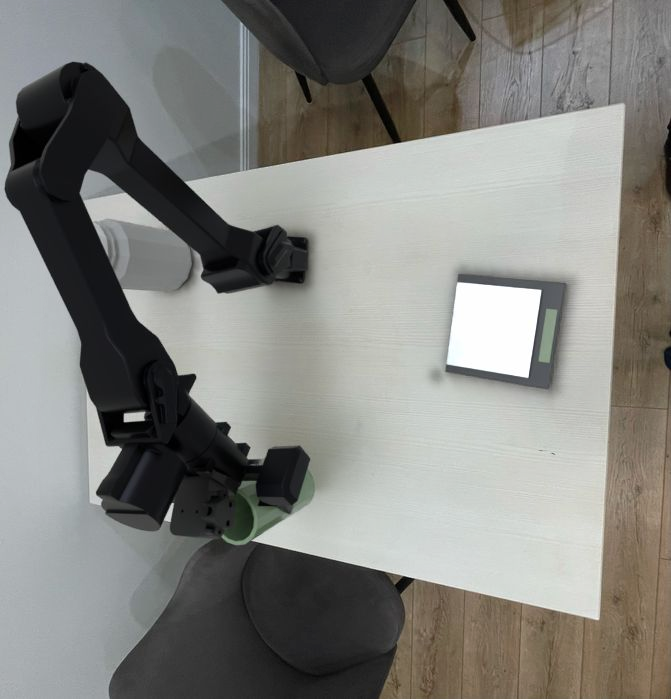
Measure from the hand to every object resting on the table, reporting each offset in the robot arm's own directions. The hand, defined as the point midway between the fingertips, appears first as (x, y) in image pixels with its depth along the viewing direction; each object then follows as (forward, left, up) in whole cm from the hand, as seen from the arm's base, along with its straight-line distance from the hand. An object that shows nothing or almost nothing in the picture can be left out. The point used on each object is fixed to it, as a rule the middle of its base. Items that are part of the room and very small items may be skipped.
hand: (266, 509), depth 67 cm
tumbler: (0, +1, -7) cm, 7 cm away
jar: (-31, +29, -13) cm, 44 cm away
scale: (+23, +25, -12) cm, 36 cm away
